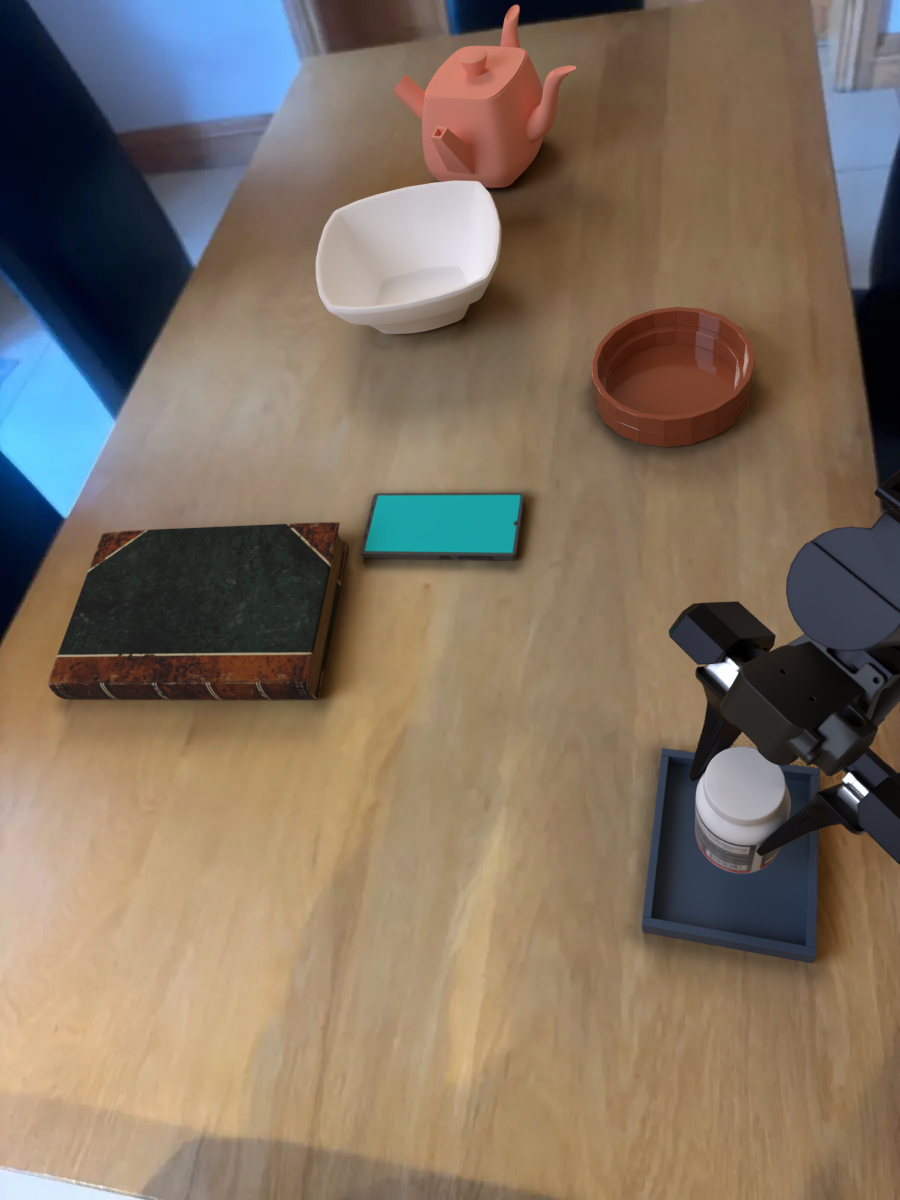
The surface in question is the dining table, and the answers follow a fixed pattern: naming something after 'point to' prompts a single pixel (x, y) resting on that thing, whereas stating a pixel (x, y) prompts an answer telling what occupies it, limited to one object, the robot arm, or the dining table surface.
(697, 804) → the pill bottle
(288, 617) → the book
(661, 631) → the dining table surface
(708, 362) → the terracotta bowl
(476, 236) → the bowl
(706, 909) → the tray
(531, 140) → the teapot
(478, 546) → the smartphone
